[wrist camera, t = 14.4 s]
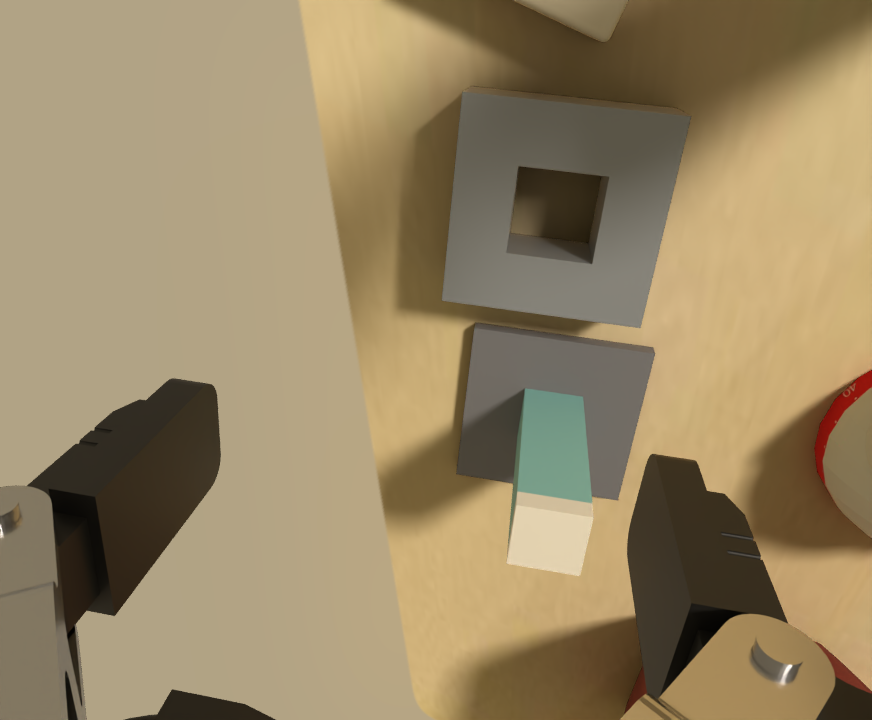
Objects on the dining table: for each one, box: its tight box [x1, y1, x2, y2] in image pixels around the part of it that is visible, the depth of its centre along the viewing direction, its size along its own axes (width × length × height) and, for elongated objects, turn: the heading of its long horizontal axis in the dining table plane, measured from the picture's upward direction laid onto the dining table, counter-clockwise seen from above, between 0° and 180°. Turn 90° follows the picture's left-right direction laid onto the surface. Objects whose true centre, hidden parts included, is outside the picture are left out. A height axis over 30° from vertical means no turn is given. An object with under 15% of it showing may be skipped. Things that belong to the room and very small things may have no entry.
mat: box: [456, 323, 655, 500], centre depth 49 cm, size 12×12×1 cm
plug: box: [506, 388, 594, 576], centre depth 42 cm, size 4×4×13 cm
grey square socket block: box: [442, 86, 691, 328], centre depth 41 cm, size 12×12×4 cm
